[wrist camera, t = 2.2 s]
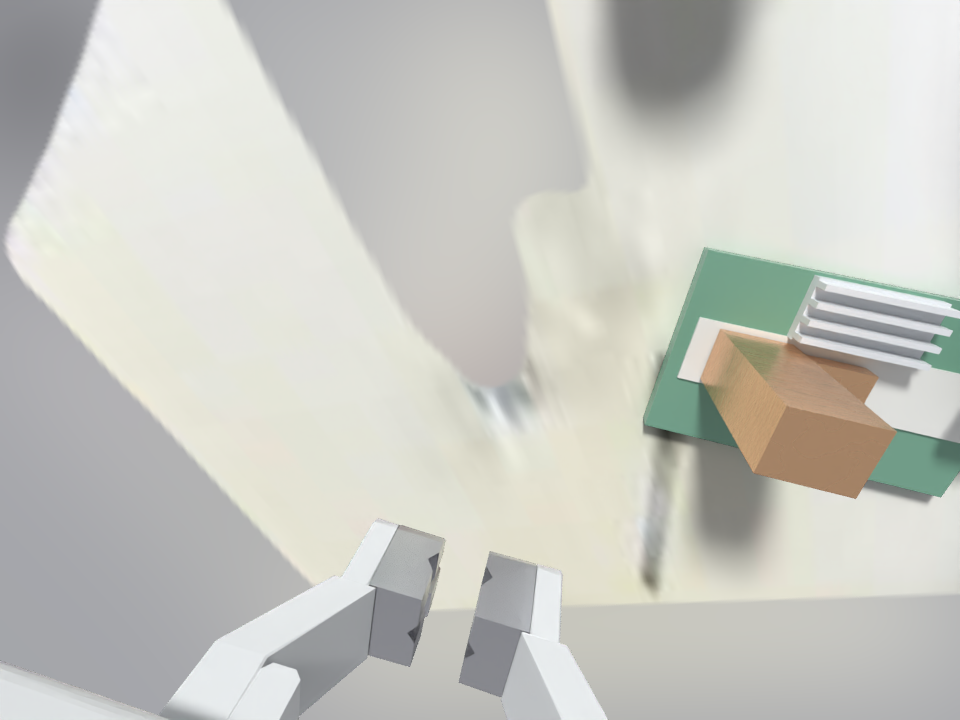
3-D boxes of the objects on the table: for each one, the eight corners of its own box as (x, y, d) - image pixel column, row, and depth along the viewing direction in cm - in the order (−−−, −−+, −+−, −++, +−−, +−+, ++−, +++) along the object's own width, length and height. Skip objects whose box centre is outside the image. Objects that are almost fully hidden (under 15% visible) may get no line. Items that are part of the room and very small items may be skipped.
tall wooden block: (700, 378, 36) (753, 473, 25) (720, 328, 34) (786, 406, 23) (841, 411, 35) (962, 525, 24) (869, 361, 33) (1012, 458, 22)
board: (643, 417, 39) (653, 461, 34) (704, 247, 34) (730, 264, 28) (930, 487, 37) (995, 547, 31) (1047, 317, 31) (1154, 351, 26)
